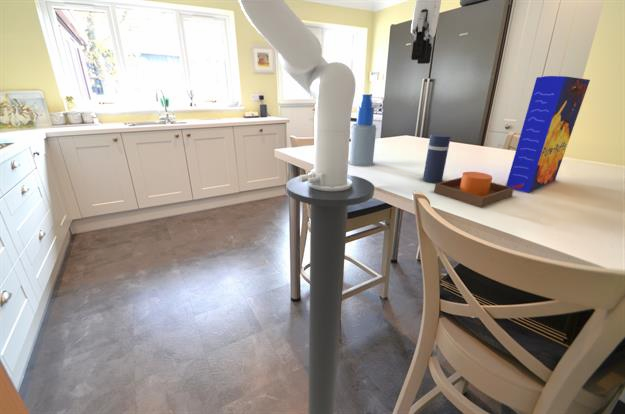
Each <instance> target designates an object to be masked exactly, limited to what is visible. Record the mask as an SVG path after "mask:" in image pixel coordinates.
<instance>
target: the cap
mask: <svg viewBox="0 0 625 414" xmlns="http://www.w3.org/2000/svg"><path fill="white" fill-rule="evenodd" d="M461 177H462V179H461V184H460V188H459V190H461V191H464V192H468V193H471V194H474V195H478V196H481V197H484V196H487V195H488V192H489V189H490V185H491V182H492V180H493V176H492V175H491V174H488V173H484V172H479V171H465V172H462V175H461Z"/></svg>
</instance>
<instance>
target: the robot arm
mask: <svg viewBox="0 0 625 414" xmlns="http://www.w3.org/2000/svg"><path fill="white" fill-rule="evenodd" d="M238 3H239V4H240V7H241V10H242V11H243V13H244V15H245V17H246V18H247V20H248V22H249V23H250V24H251V25H252V27H254V28H255V30H256V32H257V33H259V35H260V36H262V38H263V39H264V40H265V41H266V42H267V43H268V44H269V45H270V46H271V48H273V50H274V51H276V53H277V54H278V59H279V62H280V64H281V66H282V68H283V69H284V71H286V73H287V74H288V75H289V76H290V77H291V78H292V79H293V80H294V81H296V83H297V84H298V85H300V87H302V88H303V89H304V90H305V92H307V93H308V94H309V95H310V96H311V97H312V98H313V99H314V100H315V101H316V102H315V111H314V139H313V140H314V141H313V142H314V143H313V147H314V148H313V155H314V156H313V169H310V172H309V173H308V175H307V174H299V175H298V176H299V181H300V182H306V181H308V185H309V186H310V187H311V188H313V189H316V190H321V191H333V192H334V191H343V190H347V189H349V188H351V187H352V181H351V180H350V179H348V178H347V175H348V171H349V156H350V153H349V152H350V140H351V119H352V110H353V106H354V105H353V104H354V99H355V95H356V77H355V75H354V72H353V71H352V69H351V68H350V67H349V66H348V65H346V64H344V63H342V62H339V61H334V62H330V63H329V62H328V61H327V60H326V59H325V58H324V56H322V55H323V48H322V44H321V41H320V39H319V38H318V37H317V35H316V34H315V33H314V32H313V31H312V30H311V29H310V28H309V27H308V26H307V25H306V24H305V23H304V22H303V21H302V20H301V18H300V17H299V16H298V15H297V14H296V13H295V12H294V11H293V10H292V9H291V8H290V6H289V5H288V3H287V2H286V1H285V0H238ZM441 5H442V0H415V2H414V8H413V14H412V20H411V26H410V33H411V34H412V36H414V37H413V41H412V42H413V43H412V48H411V49H412V51H411V58H410V59H411V60H412V61H417V64H419V65H421V64H423V65H424V64H430V63H431V58H432V50H433V38H434V37H435V36H436V32H437V28H438V24H439V17H440V11H441Z"/></svg>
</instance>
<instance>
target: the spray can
mask: <svg viewBox="0 0 625 414" xmlns="http://www.w3.org/2000/svg"><path fill="white" fill-rule="evenodd" d="M450 142H451V135H449V134H441V133H432V134H431V133H430V135H429V141H428V144H427V145H428V146H427V153H426V159H425V165H424V171H423V175H422V180H423V181H424V182H426V183H431V184H436V183H440V182H443V177H444V173H445V168H446V163H447V157H448V153H449V148H450Z"/></svg>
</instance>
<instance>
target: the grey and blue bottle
mask: <svg viewBox="0 0 625 414" xmlns="http://www.w3.org/2000/svg"><path fill="white" fill-rule="evenodd" d="M356 110H357V112H356V123H353V124H352V126H351V135H350V150H349V152H350V153H349V164H350V165H352V166H358V167H370V166H372V165H373V164H374V155H375V147H376V146H375V145H376V136H377V135H376V134H377V125H376V124H373V123H374V113H375V107H373V94H372V93H371V94H361V96H360V101H359V106H357V109H356Z"/></svg>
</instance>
